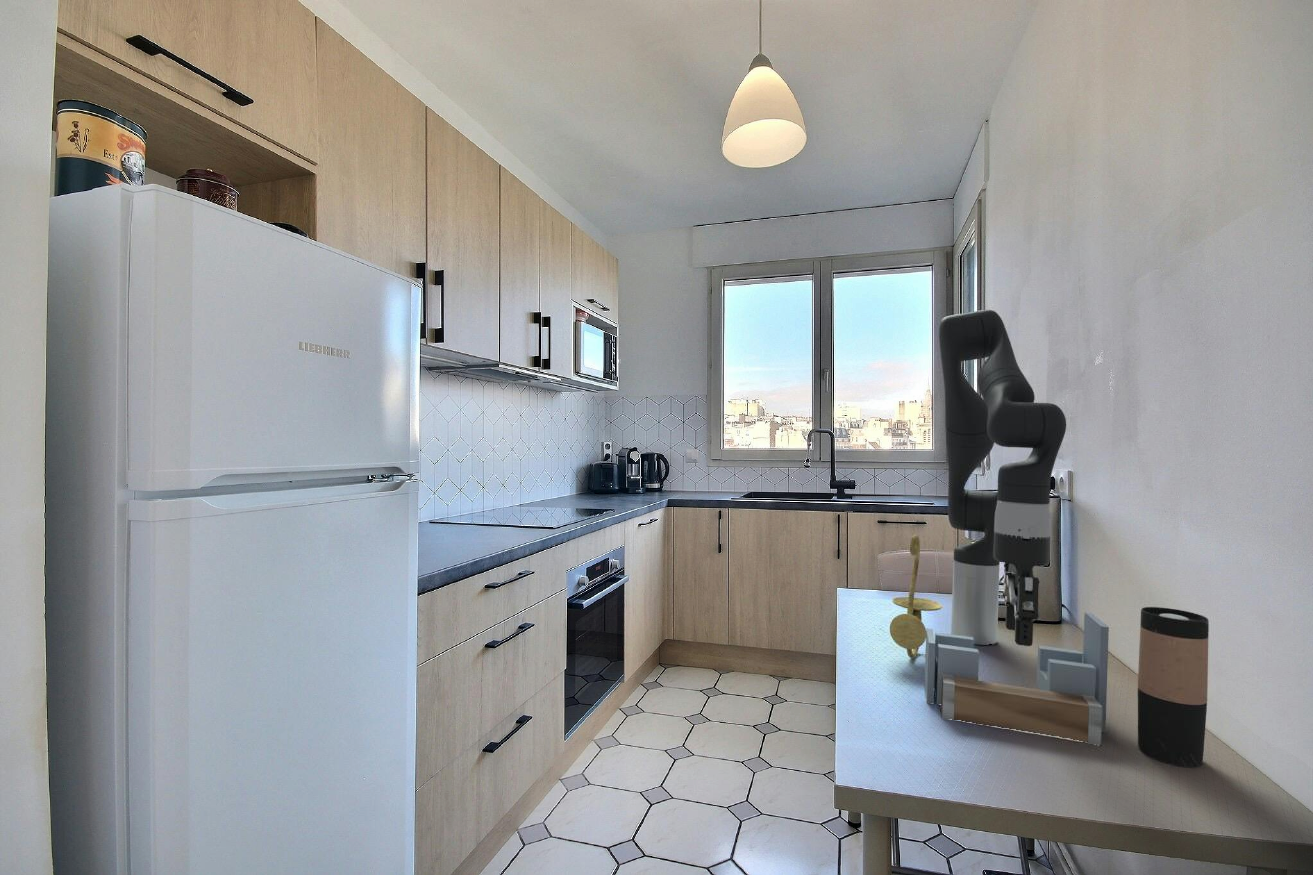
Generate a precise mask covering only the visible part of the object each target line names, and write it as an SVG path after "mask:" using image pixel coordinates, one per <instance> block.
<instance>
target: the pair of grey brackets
mask: <svg viewBox="0 0 1313 875" xmlns="http://www.w3.org/2000/svg"><path fill="white" fill-rule="evenodd" d="M1083 615H1084V618H1083V620H1084V621H1083V646H1082V647H1083V648H1082V651H1083V652H1082V651H1081V650H1077V649H1076V650H1075V649H1070V648H1069V649H1068V648H1061V647H1053V646H1052V647H1051V646H1046V645H1045V646H1044V645H1037V646H1038V647H1037V671H1036V672H1037V674H1036V676H1037V678H1036V680H1037V681H1036V689H1038V690H1045V691H1051V692H1058V693H1065V694H1071V695H1078V696H1081V694H1082V695H1088V696H1094V697H1095V698H1096V700H1097V701H1098V702H1099V703H1100V705H1101V706H1102V731H1101V733H1106V726H1107V725H1106V724H1107V719H1106V718H1107V699H1108V698H1107V693H1108V666H1109V665H1108V662H1109V659H1108V658H1109V633H1110V632H1109V630H1110V629H1109V628H1110V627H1109V626H1108V625H1107V624H1105V622H1104V621H1103V620H1101V619H1100V618H1098V617H1097V616H1096V615H1095V614H1094V613H1092V612H1088V611H1085V612H1084V613H1083ZM925 628H926V640H925V657H924V658H925V662H924V690H925V699H927V700H926V703H927V704H930V703H933V704H934V700H935V701H936V702H937V703H936V705H937V704H941V681H942V674H947V675H953V677H958V678H965V679H971V680H978V681H979V672H980V671H979V670H980V668H979V666H980V661H979V660H980V651H979V649H978V648H974V647H975V644H974V639H973V637H968V636H961V635H953V634H951V633H944V632H938V631H937V632H935V633H934V630H933V628H928V627H925ZM934 690H935V691H934ZM935 696H936V697H935ZM934 698H935V699H934Z"/></svg>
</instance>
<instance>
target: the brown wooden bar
mask: <svg viewBox="0 0 1313 875" xmlns="http://www.w3.org/2000/svg"><path fill="white" fill-rule="evenodd" d="M940 712H941V713H942V714H941V718H943V719H942V720H945V719H952V720H961V721H965V722H972V723H976V724H983V725H989V726H997V727H1001V728H1009V729H1016V730H1021V731H1028V732H1033V733H1040V734H1046V735H1051V736H1059V737H1062V738H1070V739H1073V740H1079V741H1083V742H1087V743H1089V744H1088V745H1090V744H1096V745H1101V746H1102V732H1101V731H1102V706H1101V705H1100V703H1099V702H1098V701H1097V700H1096V698H1095V697H1094V696H1088V695H1082V694H1081V696H1078V695H1071V694H1065V693H1058V692H1051V691H1045V690H1038V689H1037V688H1031V687H1024V686H1019V685H1018V686H1017V685H1011V684H1003V683H997V682H991V681H990V682H989V681H984V680H983V681H982V680H979V679H978V680H971V679H965V678H958V677H953V675H947V674H942V681H941V705H940ZM976 724H975V725H976ZM1096 745H1095V746H1096Z"/></svg>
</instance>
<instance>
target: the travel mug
mask: <svg viewBox="0 0 1313 875" xmlns="http://www.w3.org/2000/svg"><path fill="white" fill-rule="evenodd" d="M1209 622H1210V621H1209V618H1208V617H1206V616H1204V615H1202V614H1199V613H1195V612H1190V611H1186V610H1181V609H1175V608H1168V607H1159V606H1157V607H1156V606H1146V607H1142V608H1141V609H1140V627H1139V650H1138V669H1137V670H1138V672H1137V673H1138V674H1137V743H1138V744H1137V745H1138V746H1137V747H1138V749H1139V750H1140V752H1142V753H1143V754H1145V755H1146V756H1148V757H1150V758H1152V759H1154V760H1156V761H1159V762H1162V763H1165V764H1168V765H1172V766H1177V767H1181V768H1182V767H1183V768H1199V767H1201V766H1202V765H1203V762H1204V761H1203V759H1204V753H1205V751H1204V749H1205V738H1206V737H1205V736H1206V722H1207V709H1208V682H1209V681H1208V680H1209V678H1208V677H1209V676H1208V674H1209V672H1208V671H1209V636H1210V635H1209V632H1210V631H1209V630H1210V629H1209Z"/></svg>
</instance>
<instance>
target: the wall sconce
mask: <svg viewBox="0 0 1313 875" xmlns="http://www.w3.org/2000/svg"><path fill="white" fill-rule="evenodd" d="M909 543H910V544H909V552H910V555H911V556H913V557H914V558H913V566H912V570H911V571H912V572H911V577H910V578H911V579H910V583H909V584H910V585H909V593H908V596H898V597H895V598H892V603H893V604H894V605H896V606H898V607H901V608H903V609H907V611H906V613H901V614H898V615H896V616H895V617H893V619H892V620H891V622H890V623H889V624H890V625H889V634H890V637H891V639H892V640H893V642H895V643H896V644H897V645H898V646H899V647H900V648H903V649H906V652H907V656H908V658H910V659H915V657H916V656H917V654H918V652H919V649H920V647H921V646H922V645H924V643H926V628H927V627H926V626H925V624H924V623H923V620H922V619H923V618H922V611H923V612H926V611H927V612H933V611H939V610H942V608H943V605H942V603H940V602H937V601H934V600H931V599H927V598H921V597H915V593H916V592H915V591H916V584H917V578H918V572H919V571H918V570H919V563H920V555H921V553H920V552H921V550H920V549H921V547H920V546H921V545H920V544H921V543H920V538H919V536H918V534H913V535H912V536H911V538H910V542H909Z"/></svg>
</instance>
